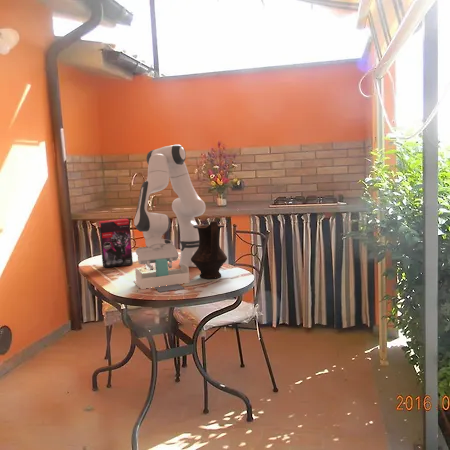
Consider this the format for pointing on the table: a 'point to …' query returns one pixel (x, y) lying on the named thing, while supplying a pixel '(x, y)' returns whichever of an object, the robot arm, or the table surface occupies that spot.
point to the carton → (162, 278)
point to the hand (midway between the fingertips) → (161, 268)
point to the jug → (209, 251)
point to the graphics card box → (115, 243)
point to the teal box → (161, 267)
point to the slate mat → (169, 287)
